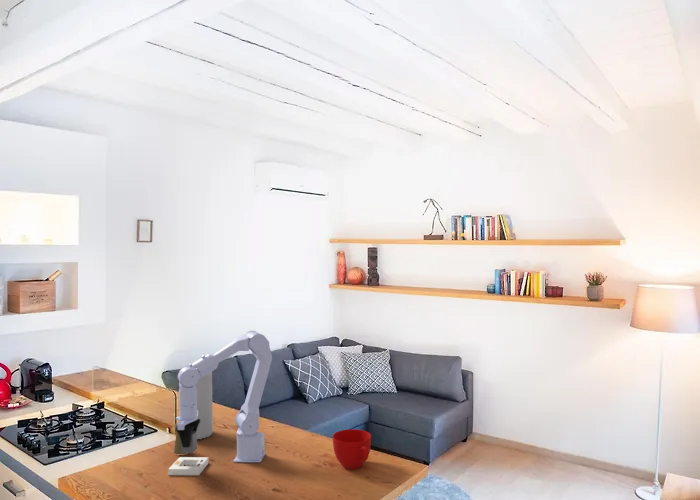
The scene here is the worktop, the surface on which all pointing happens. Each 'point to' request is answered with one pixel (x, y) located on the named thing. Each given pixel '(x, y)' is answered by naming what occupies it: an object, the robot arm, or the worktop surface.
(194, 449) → the plug
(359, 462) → the ceramic cup
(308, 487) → the worktop surface
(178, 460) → the socket plate
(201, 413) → the cylinder vase
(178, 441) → the olive tapered pepper mill
